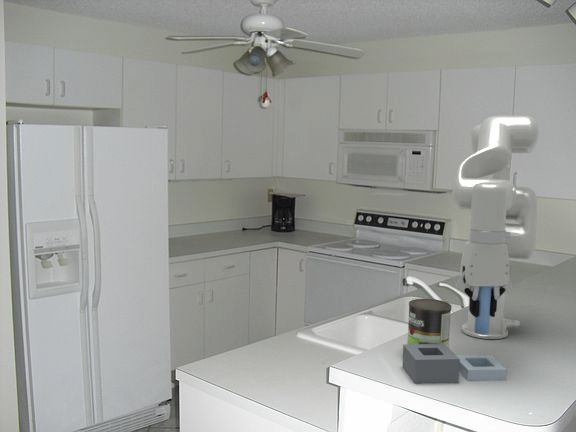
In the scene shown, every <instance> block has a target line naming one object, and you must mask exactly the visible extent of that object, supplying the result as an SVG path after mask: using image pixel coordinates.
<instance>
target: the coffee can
mask: <svg viewBox="0 0 576 432" xmlns="http://www.w3.org/2000/svg"><path fill="white" fill-rule="evenodd" d="M451 313H452V304H451V303H449V302H447V301H444V300H441V299H435V298H416V299H415V298H414V299H412V300H409V302H408V324H407V325H408V327H407V328H408V329H407V343H406V344H445V345H446V346H447V347H448V348H449V347H450V331H451V315H452V314H451ZM449 349H450V348H449Z"/></svg>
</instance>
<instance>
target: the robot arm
mask: <svg viewBox="0 0 576 432" xmlns="http://www.w3.org/2000/svg"><path fill="white" fill-rule="evenodd" d="M470 136H471V138H470V139H471V148H472V154H471V155H469V156H468V157H467V158H465V159H464V160H463V161H462V162H461V163H460V164H459V165H458V167H457V170H456V171H455V175H454V181H453V187H452V201H453V204H454V205H455V207H456V208H458V209H460V210H461V209H462V210H469V211H470V225H469V231H468V232H469V233H468V241H465V243H464V247H463V251H462V256H461V261H460V269H459V270H460V271H459V278H458V280H457V282H456V283H455V288H457V289H458V290H460V291H462V292H464V293H465V294H466V296H467V297H468V309H467V322H465V323H464V324H462V325H461V332H462V333H464V334H465V335H467V336H470V337H473V338H477V339H478V338H479V339H484V340H499V339H500V340H501V339H502V340H503V339H505V338H507V337H508V335H509V330H508V329H510V328H520V325H521V322H520V320H517V319H515V320H513V319H511V318H505V317H504V311H505V295H506V293H505V292H506V291H509V290H510V289H512V288H513V287H514V285H513V281H512V280H511V278H510V261H509V260H510V259H518V260H520V259H521V260H528V259H530V258H532V257H533V256H534V255H535V252H536V248H537V247H536V246H537V228H538V227H537V225H538V223H537V222H538V198H537V197H538V196H537V194H536V192H535V190H533V189H532V188H530V187H526V186H525V187H524V186H515V185H514V184H513V183H512V181H511V180H510V178H511V171H510V168H509V165H510V164H511V162H512V157H513V154H531V153H533V151H534V150H535V148H536V147H537V144H538V139H539V126H538V122H537V121H536V119H535V118H534V117H532V116H530V115H529V116H528V115H493V116H489V117H487V118H485V119H484V120H483V121H482V122H481V124H477V125H476V126H474V127H473V129H472V131H471V135H470ZM506 221H514V222H517V223H506ZM467 286H468V287H467ZM479 287H492V288H491V305H490V322H489V334H486V335H482V334H477V333H475V332H474V329H475V317H479V303H480V302H479V300H478V292H479Z"/></svg>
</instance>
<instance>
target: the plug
mask: <svg viewBox="0 0 576 432" xmlns="http://www.w3.org/2000/svg"><path fill="white" fill-rule="evenodd" d="M491 288H492V287H479V292H478V300H479V302H480V303H479V317H475V329H474V332H475V333H477V334H482V335H486V334H489V322H490V305H491Z"/></svg>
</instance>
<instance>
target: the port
mask: <svg viewBox="0 0 576 432" xmlns="http://www.w3.org/2000/svg"><path fill="white" fill-rule="evenodd" d="M402 347H403V348H402V368H403V370H404V371H405V373H406V374H407V375H408V377H409V378H410V379H411V381H412V382H413V383H414V384H415V385H421V384H422V385H424V384H428V385H429V384H460V383H459V382H460V372H459V366H460V359H459V358H458V357H457V356H458V355H457V354H455V352H453V351H452V350H451V349H450V348H448V347H447V346H446V345H445V344H407V343H405V344H403V345H402Z"/></svg>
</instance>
